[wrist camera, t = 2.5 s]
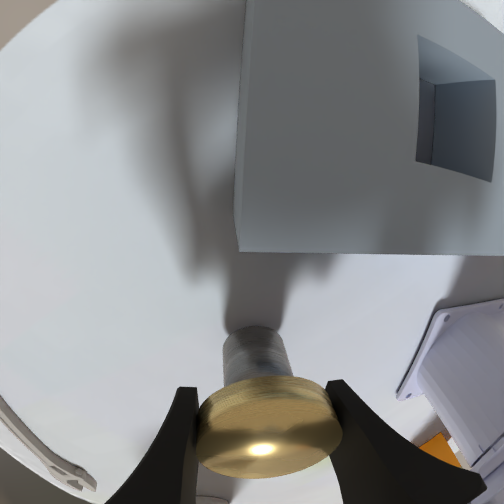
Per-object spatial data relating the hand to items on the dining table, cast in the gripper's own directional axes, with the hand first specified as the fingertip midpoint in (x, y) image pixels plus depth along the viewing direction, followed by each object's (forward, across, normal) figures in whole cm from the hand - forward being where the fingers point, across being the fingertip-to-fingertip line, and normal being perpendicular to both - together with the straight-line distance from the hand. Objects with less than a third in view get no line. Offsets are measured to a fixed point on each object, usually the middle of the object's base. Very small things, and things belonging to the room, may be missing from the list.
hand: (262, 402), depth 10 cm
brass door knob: (+3, 0, 0) cm, 3 cm away
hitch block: (+4, -6, -11) cm, 13 cm away
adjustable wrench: (+5, +21, +15) cm, 26 cm away
